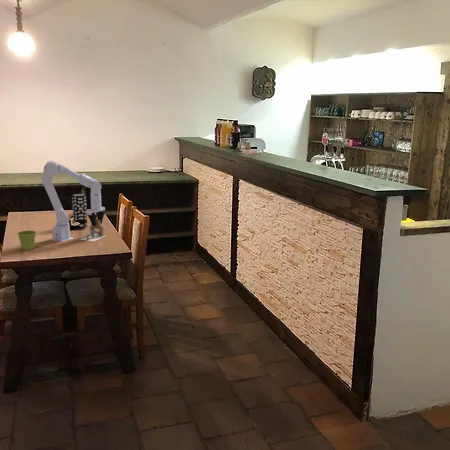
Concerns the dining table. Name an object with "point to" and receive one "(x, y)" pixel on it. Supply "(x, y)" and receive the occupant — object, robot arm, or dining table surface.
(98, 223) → the stepped wooden block
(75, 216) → the white-spotted black cylinder
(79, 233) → the dining table surface
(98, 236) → the end pad
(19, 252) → the dining table surface
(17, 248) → the dining table surface
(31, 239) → the plant pot
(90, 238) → the buzz wire board
